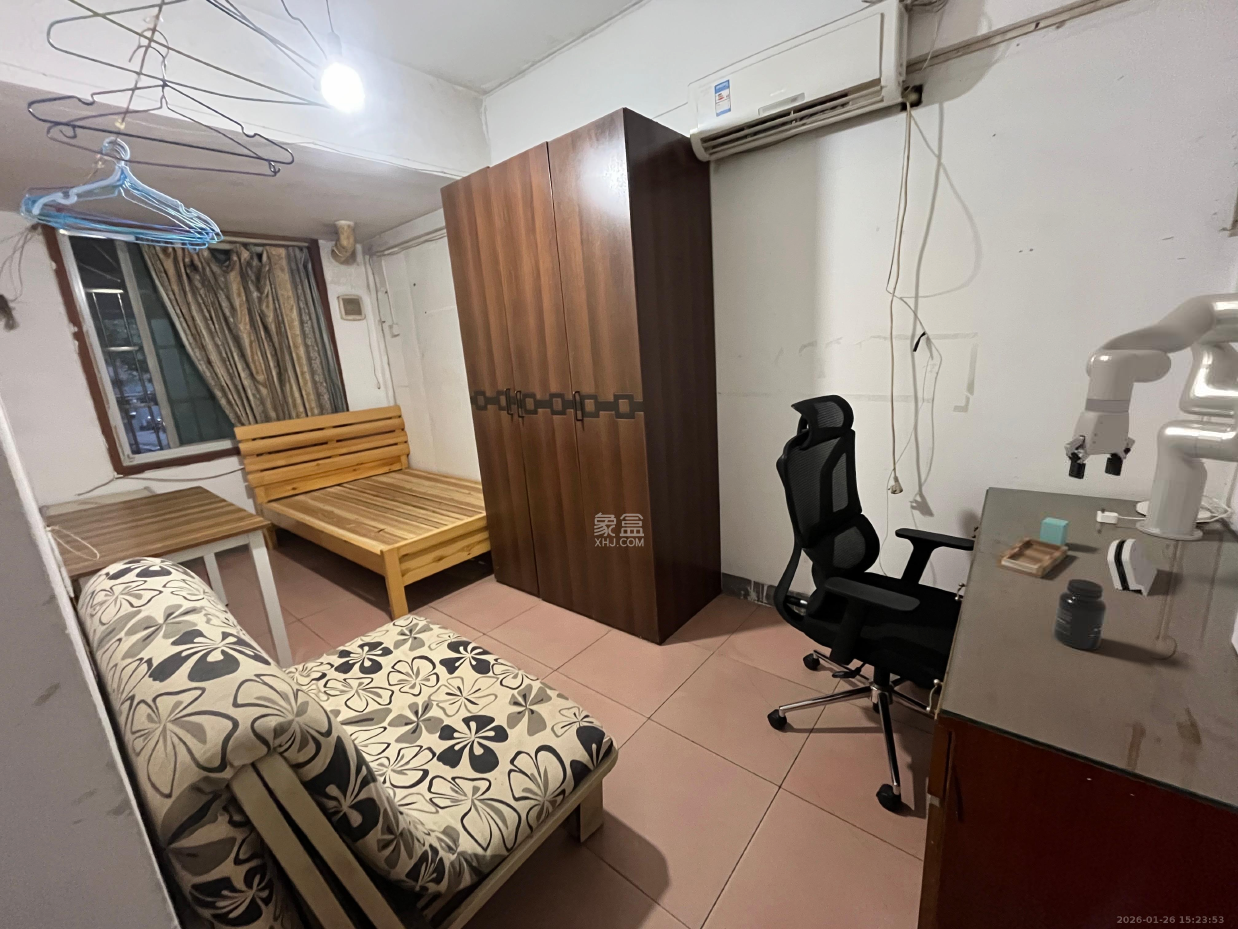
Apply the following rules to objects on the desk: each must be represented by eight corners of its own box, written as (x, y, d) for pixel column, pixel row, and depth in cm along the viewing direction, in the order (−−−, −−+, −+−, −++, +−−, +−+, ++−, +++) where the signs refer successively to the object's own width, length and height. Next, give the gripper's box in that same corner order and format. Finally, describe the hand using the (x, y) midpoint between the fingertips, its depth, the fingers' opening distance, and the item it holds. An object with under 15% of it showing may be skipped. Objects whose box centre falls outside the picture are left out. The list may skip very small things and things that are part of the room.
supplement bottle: (1103, 655, 92) (1115, 596, 90) (1055, 645, 96) (1065, 588, 93) (1094, 635, 98) (1105, 580, 95) (1049, 627, 102) (1058, 573, 99)
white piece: (1146, 596, 110) (1132, 552, 110) (1116, 595, 114) (1103, 553, 114) (1157, 571, 120) (1144, 531, 120) (1130, 571, 124) (1117, 532, 124)
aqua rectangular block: (1044, 540, 140) (1047, 517, 138) (1065, 545, 136) (1069, 521, 134) (1038, 545, 137) (1042, 521, 136) (1059, 550, 134) (1063, 525, 132)
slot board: (1024, 545, 138) (1025, 537, 137) (1066, 555, 130) (1068, 547, 130) (996, 566, 127) (997, 557, 127) (1040, 578, 120) (1041, 569, 119)
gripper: (1122, 401, 122) (1110, 469, 126) (1057, 406, 120) (1047, 475, 125) (1158, 405, 115) (1143, 477, 119) (1089, 411, 113) (1076, 483, 117)
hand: (1094, 476), depth 122 cm, fingers open, 9 cm apart
